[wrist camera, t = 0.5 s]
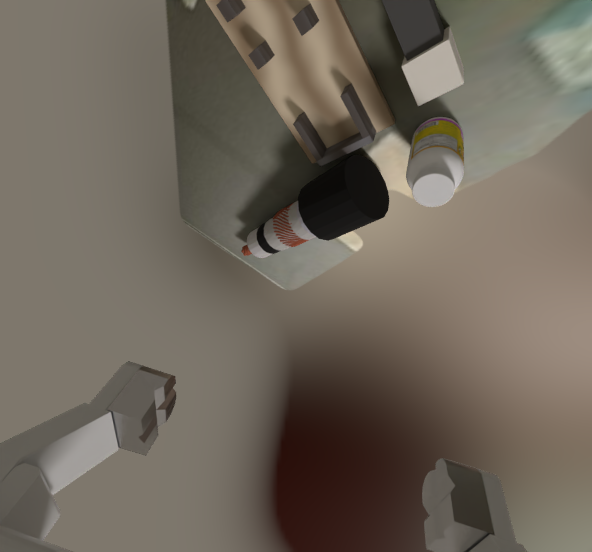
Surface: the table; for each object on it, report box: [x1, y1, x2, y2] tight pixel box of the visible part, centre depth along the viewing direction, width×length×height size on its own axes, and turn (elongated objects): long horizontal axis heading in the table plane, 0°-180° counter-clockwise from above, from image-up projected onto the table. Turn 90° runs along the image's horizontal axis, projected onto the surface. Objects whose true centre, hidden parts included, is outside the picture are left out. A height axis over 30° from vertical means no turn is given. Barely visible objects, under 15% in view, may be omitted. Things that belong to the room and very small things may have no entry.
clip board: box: [205, 0, 395, 167], centre depth 46 cm, size 14×25×4 cm, turn 36°
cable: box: [242, 155, 389, 258], centre depth 64 cm, size 10×34×10 cm, turn 133°
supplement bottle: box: [406, 117, 464, 207], centre depth 45 cm, size 7×7×13 cm
